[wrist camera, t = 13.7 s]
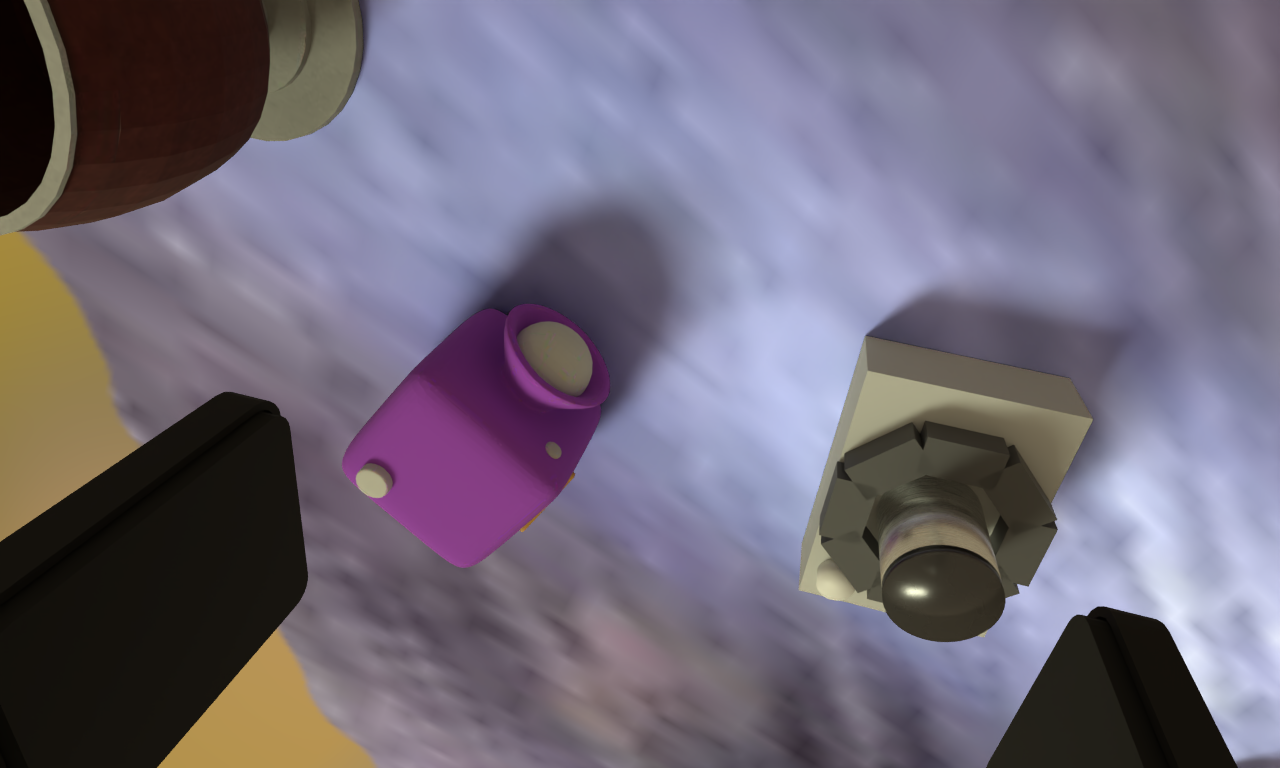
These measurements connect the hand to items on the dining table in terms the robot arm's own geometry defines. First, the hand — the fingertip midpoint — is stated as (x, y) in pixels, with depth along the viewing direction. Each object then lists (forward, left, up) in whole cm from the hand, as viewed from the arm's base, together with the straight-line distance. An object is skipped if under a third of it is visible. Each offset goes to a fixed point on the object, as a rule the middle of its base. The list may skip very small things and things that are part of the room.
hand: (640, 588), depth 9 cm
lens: (+16, +11, -26) cm, 33 cm away
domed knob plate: (+16, +11, -30) cm, 36 cm away
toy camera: (+16, -12, -31) cm, 37 cm away
